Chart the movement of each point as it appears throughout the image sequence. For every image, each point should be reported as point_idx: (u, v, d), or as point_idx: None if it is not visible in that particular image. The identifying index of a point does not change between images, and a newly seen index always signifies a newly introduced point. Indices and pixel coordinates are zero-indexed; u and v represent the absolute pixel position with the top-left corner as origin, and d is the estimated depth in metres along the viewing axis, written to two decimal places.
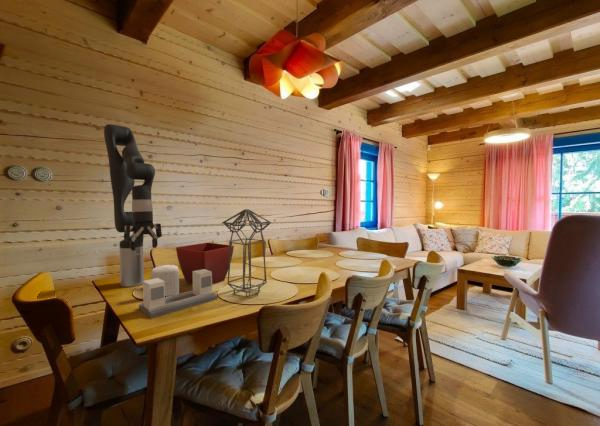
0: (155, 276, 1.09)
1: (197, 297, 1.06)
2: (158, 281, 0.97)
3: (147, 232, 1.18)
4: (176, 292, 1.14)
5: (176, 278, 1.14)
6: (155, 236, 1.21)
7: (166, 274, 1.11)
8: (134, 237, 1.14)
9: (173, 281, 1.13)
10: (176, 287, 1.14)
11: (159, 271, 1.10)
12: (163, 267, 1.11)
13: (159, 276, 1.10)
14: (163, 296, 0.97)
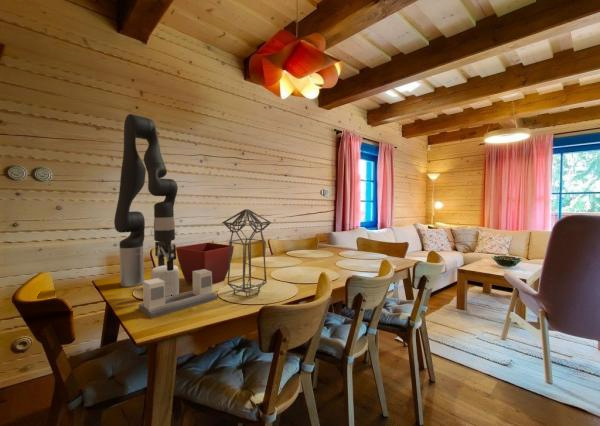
0: (155, 276, 1.09)
1: (197, 297, 1.06)
2: (158, 281, 0.97)
3: None
4: (176, 292, 1.14)
5: (176, 278, 1.14)
6: None
7: (166, 274, 1.11)
8: None
9: (173, 281, 1.13)
10: (176, 287, 1.14)
11: (159, 271, 1.10)
12: (163, 267, 1.11)
13: (159, 276, 1.10)
14: (163, 296, 0.97)
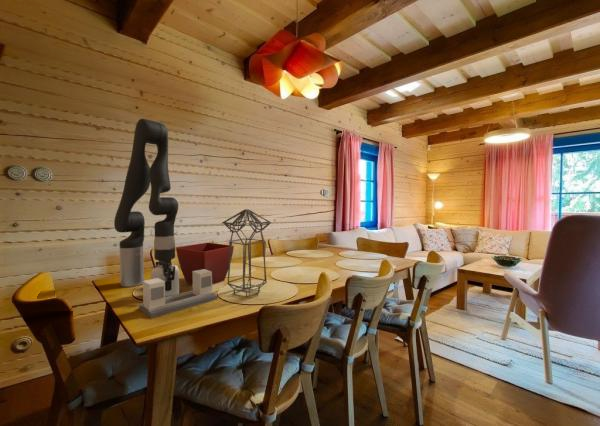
0: (155, 276, 1.09)
1: (197, 297, 1.06)
2: (158, 281, 0.97)
3: None
4: (176, 292, 1.14)
5: (176, 278, 1.14)
6: None
7: (166, 273, 1.11)
8: None
9: (173, 281, 1.13)
10: (176, 287, 1.14)
11: (159, 271, 1.10)
12: None
13: (159, 276, 1.10)
14: (163, 296, 0.97)
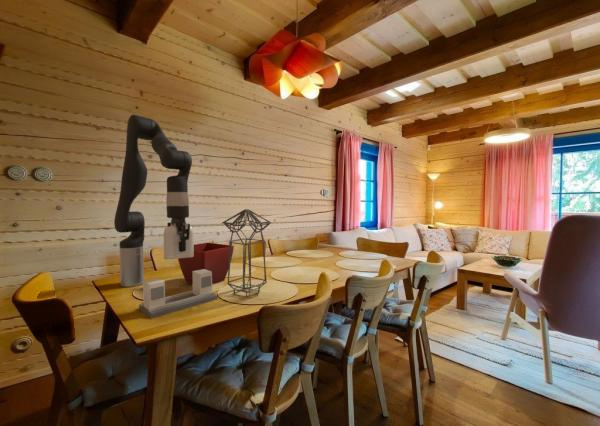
0: (168, 235, 1.00)
1: (197, 297, 1.06)
2: (158, 281, 0.97)
3: None
4: (191, 254, 1.05)
5: (190, 239, 1.05)
6: None
7: None
8: None
9: (188, 242, 1.04)
10: (191, 248, 1.05)
11: (172, 229, 1.01)
12: None
13: (172, 235, 1.01)
14: (163, 296, 0.97)
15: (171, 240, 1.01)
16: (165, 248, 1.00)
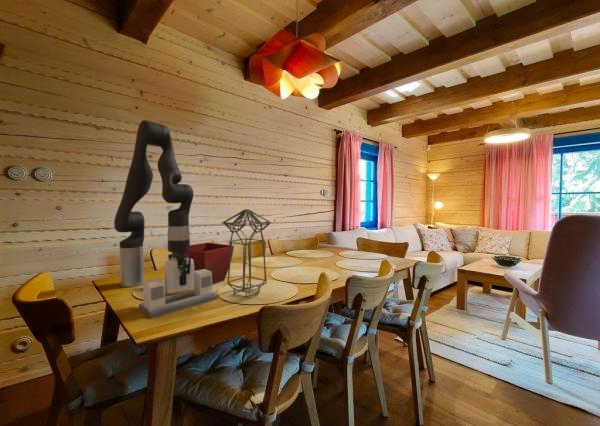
0: (169, 269, 1.00)
1: (197, 297, 1.06)
2: (158, 281, 0.97)
3: None
4: (191, 287, 1.05)
5: (191, 272, 1.05)
6: None
7: None
8: None
9: (188, 275, 1.04)
10: (191, 281, 1.05)
11: (173, 264, 1.01)
12: None
13: (173, 269, 1.01)
14: (163, 296, 0.97)
15: (172, 274, 1.01)
16: (166, 282, 1.01)
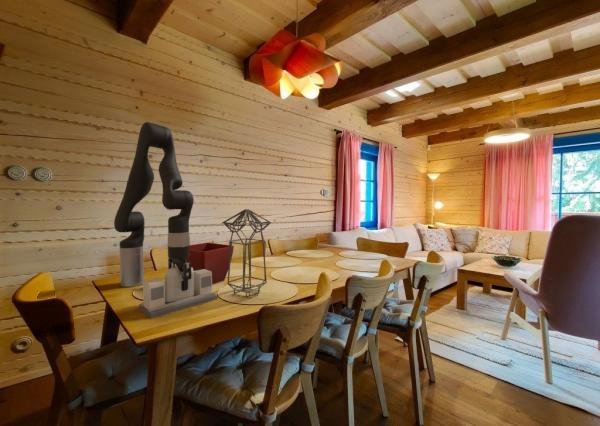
0: (169, 278, 1.01)
1: (197, 297, 1.06)
2: (158, 281, 0.97)
3: None
4: (191, 295, 1.05)
5: (191, 280, 1.05)
6: None
7: None
8: None
9: (188, 284, 1.04)
10: (191, 290, 1.05)
11: (173, 272, 1.01)
12: None
13: (173, 278, 1.01)
14: (163, 296, 0.97)
15: (172, 283, 1.01)
16: (166, 291, 1.01)
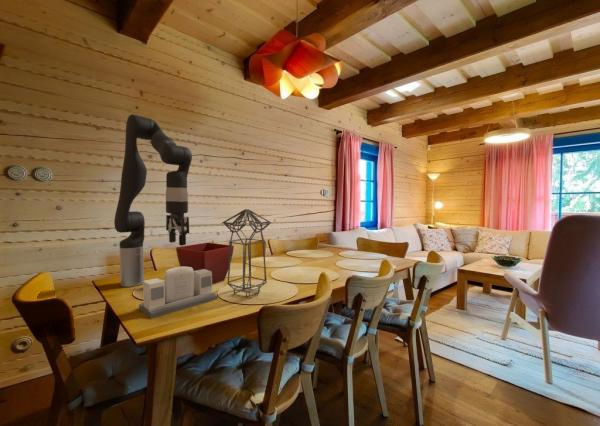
0: (169, 279, 1.01)
1: (197, 297, 1.06)
2: (158, 281, 0.97)
3: None
4: (191, 296, 1.05)
5: (191, 280, 1.05)
6: None
7: (181, 276, 1.03)
8: None
9: (188, 284, 1.04)
10: (191, 290, 1.05)
11: (173, 273, 1.01)
12: (177, 269, 1.03)
13: (173, 278, 1.01)
14: (163, 296, 0.97)
15: (172, 284, 1.01)
16: (166, 291, 1.01)
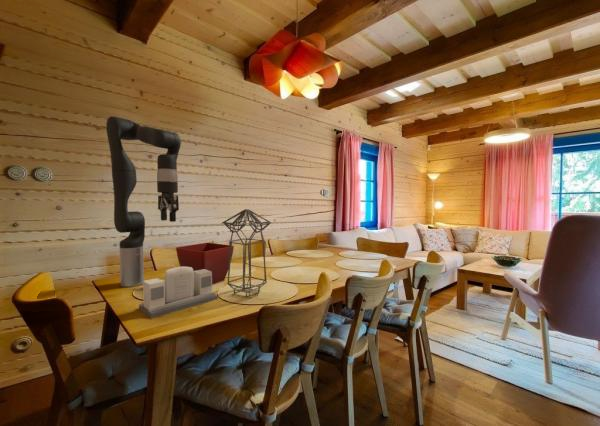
0: (169, 279, 1.01)
1: (197, 297, 1.06)
2: (158, 281, 0.97)
3: None
4: (191, 296, 1.05)
5: (191, 280, 1.05)
6: None
7: (181, 276, 1.03)
8: None
9: (188, 284, 1.04)
10: (191, 290, 1.05)
11: (173, 273, 1.01)
12: (177, 269, 1.03)
13: (173, 278, 1.01)
14: (163, 296, 0.97)
15: (172, 284, 1.01)
16: (166, 291, 1.01)
